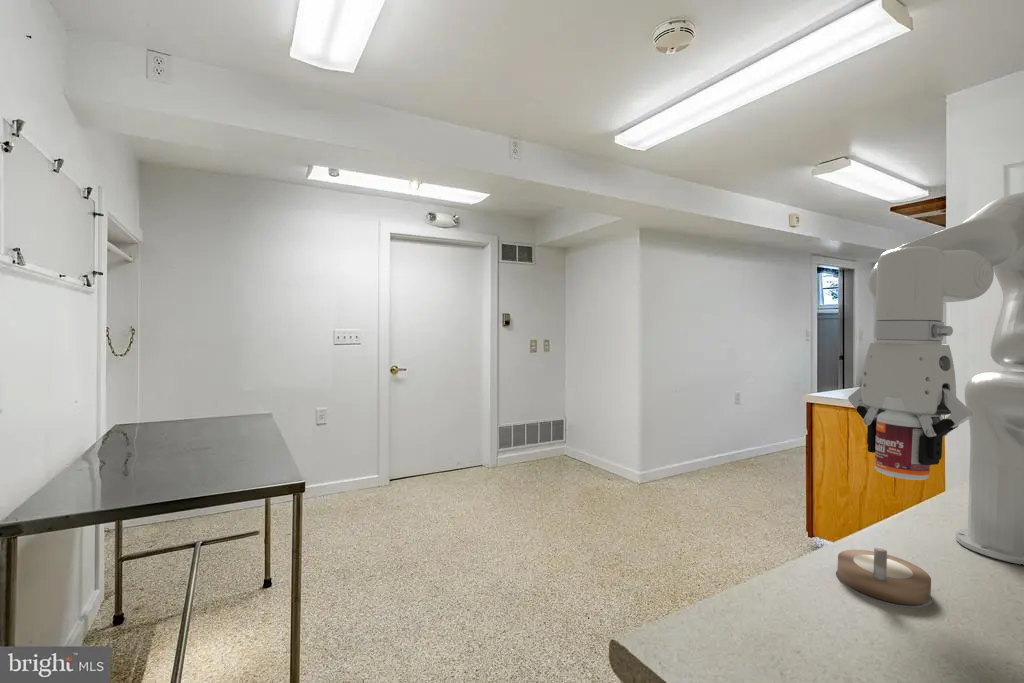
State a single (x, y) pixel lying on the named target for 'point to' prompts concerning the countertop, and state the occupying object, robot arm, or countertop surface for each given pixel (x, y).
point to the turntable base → (883, 600)
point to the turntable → (884, 576)
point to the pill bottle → (899, 442)
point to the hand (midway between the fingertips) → (901, 456)
